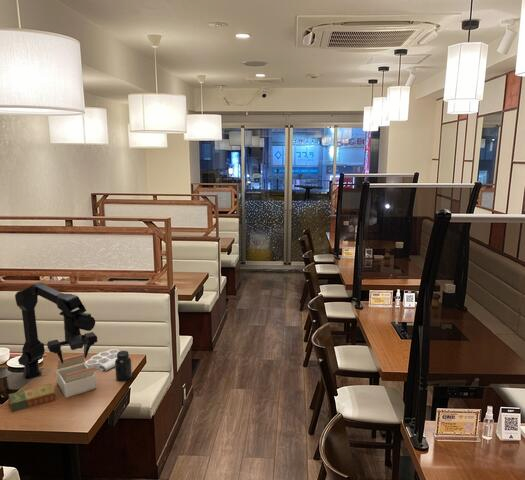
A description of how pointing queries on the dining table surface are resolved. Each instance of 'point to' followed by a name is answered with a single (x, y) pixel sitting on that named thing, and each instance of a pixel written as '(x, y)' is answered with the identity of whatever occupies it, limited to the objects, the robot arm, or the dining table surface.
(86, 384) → the crate
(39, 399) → the carton
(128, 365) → the supplement bottle
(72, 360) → the flap
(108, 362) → the white egg tray
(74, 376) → the flap
